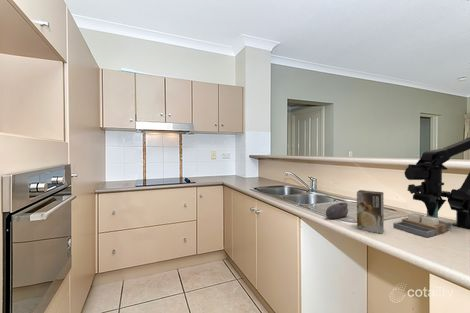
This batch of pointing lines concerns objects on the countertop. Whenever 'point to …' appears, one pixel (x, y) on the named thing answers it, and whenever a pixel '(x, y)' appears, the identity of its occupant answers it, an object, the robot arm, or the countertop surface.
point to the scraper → (437, 217)
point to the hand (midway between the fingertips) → (432, 215)
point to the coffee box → (370, 211)
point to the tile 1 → (415, 217)
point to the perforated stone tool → (337, 210)
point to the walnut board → (428, 226)
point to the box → (414, 229)
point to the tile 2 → (430, 220)
